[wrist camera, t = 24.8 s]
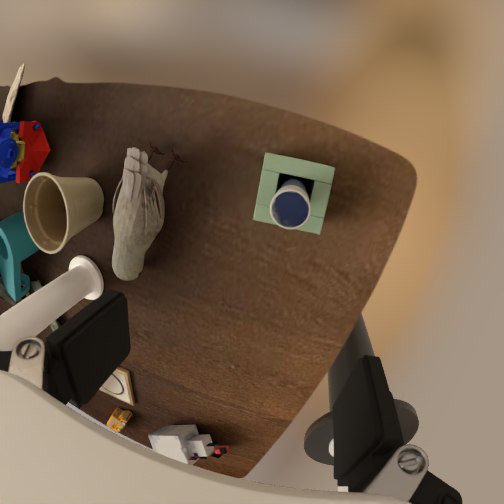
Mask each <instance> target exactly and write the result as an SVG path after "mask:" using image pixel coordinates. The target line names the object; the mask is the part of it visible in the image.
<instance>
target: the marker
mask: <svg viewBox="0 0 504 504" xmlns="http://www.w3.org/2000/svg"><path fill="white" fill-rule="evenodd" d="M270 214H271V217H272V219H273V220H274V222H275V223H276V224H277V225H279V226H280V227H282V228H285V229H297V228H299V227H301V226H303V225H304V224H305V223H306V222H307V221H308V219H309V217H310V214H311V205H310V201H309V197H308V195H307V192H306V187H305V184H304V182H303V181H302V180H301V179H300V178H298V177H290V178H288V179H286V180H285V182H284V183H283V185H282V186H281V188H280V189H279V190H278V191H277V193H276V194H275V196H274V197H273V199H272V201H271V204H270Z"/></svg>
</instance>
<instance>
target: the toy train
mask: <svg viewBox="0 0 504 504" xmlns="http://www.w3.org/2000/svg"><path fill="white" fill-rule="evenodd" d="M33 129H35V131H34V130H33ZM16 130H19V131H16ZM12 138H13V139H12ZM19 138H21V139H22V140H23V141H19ZM49 152H50V147H49V144H48V142H47V139H46V136H45V134H44V131H43V129H42V128H41V122H39V121H32V122H31V121H22V122H15V121H14V122H10V123H3V120H1V122H0V183H3V182H8V181H13V180H16V183H21V182H23V181H28V180H31V178H32V177H33V176H34V175H36V174H37V172H38V171H39V170H40V168H41V166H42V164H43V163H44V161H45V159H46V157H47V155H48V154H49ZM18 161H20V164H19V162H18ZM14 169H16V170H14ZM29 171H32V172H29Z"/></svg>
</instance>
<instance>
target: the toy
mask: <svg viewBox="0 0 504 504" xmlns="http://www.w3.org/2000/svg"><path fill="white" fill-rule="evenodd" d="M148 436H149V439H150V442H151V444H152V447H153V450H154V452H156V453H159V454H161V455H164V456H166V457H169V458H172V459H174V460H177V461H180V462H183V463H186V464H189V465H193V464H194V463H195V462H196V461H197V460H198V459H200V458H203V459H207V456H208V455H210V456H213V457H216V458H219V457H220V456H221V455H222V454H226V453H227V451H228V450H229V448H228V445H227V446H219V445H216V444H217V443H212V440H211V437H210V434H205V435H199V434H198V431H197V428H196V425H167V426H165V427H163V428H162V429H160V430H158V431H156V432H154V433H152V434H150V435H148Z"/></svg>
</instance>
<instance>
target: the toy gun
mask: <svg viewBox="0 0 504 504" xmlns="http://www.w3.org/2000/svg"><path fill="white" fill-rule="evenodd" d="M0 298H2V299H3V300H6V301H7V302H8V303H9V304H10V305H12V306H15V305H16V304H18V303H19V302H21V301H22V299H21V298H20V299H19V300H18V301H17V302H15V301H14V299H13V298H12V297H11V296H10V294H9V293H8V292H7V291H6V289H5V287H4V284H3V280H2V278H1V277H0Z"/></svg>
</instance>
